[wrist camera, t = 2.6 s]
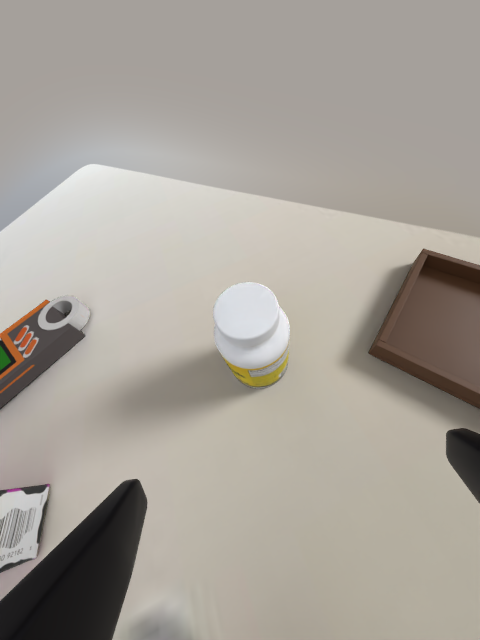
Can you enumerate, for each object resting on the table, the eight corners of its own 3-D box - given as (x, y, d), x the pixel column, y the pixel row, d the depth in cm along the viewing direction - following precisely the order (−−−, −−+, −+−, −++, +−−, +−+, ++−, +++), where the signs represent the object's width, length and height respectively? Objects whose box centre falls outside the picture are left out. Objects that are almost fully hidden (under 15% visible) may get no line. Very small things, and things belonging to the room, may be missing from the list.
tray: (544, 441, 16) (575, 440, 15) (367, 353, 21) (375, 344, 19) (567, 311, 20) (594, 299, 19) (413, 262, 25) (423, 248, 23)
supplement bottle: (224, 347, 24) (192, 289, 15) (273, 327, 24) (270, 260, 15) (242, 399, 21) (215, 365, 12) (298, 377, 21) (309, 328, 13)
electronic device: (88, 309, 26) (-57, 426, 21) (105, 322, 28) (-21, 430, 23) (60, 282, 28) (-74, 380, 23) (77, 297, 31) (-40, 388, 26)
